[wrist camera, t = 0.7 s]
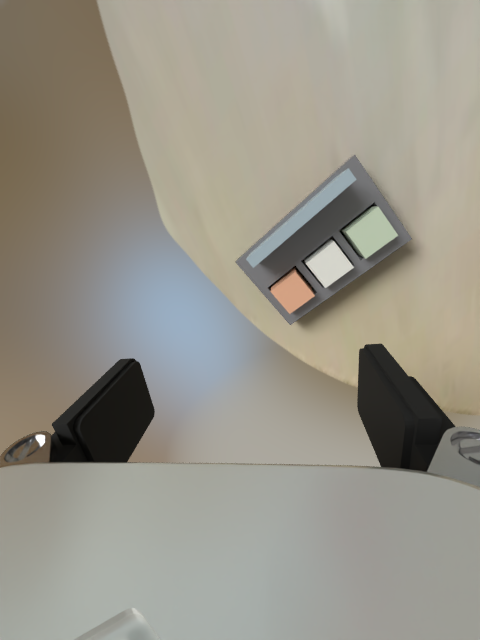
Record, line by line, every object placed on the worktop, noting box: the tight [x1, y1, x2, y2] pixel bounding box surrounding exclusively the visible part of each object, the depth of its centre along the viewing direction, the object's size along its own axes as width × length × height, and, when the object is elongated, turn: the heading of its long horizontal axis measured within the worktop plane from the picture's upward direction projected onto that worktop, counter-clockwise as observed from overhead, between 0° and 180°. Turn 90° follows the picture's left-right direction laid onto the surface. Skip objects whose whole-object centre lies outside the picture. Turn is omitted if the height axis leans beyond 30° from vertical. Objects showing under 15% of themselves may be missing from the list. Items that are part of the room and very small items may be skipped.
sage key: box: [340, 206, 398, 259], centre depth 28 cm, size 4×4×3 cm
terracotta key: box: [270, 267, 315, 314], centre depth 32 cm, size 4×4×3 cm
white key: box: [304, 239, 354, 288], centre depth 30 cm, size 4×4×3 cm
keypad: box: [236, 155, 412, 325], centre depth 29 cm, size 16×10×7 cm, turn 132°
